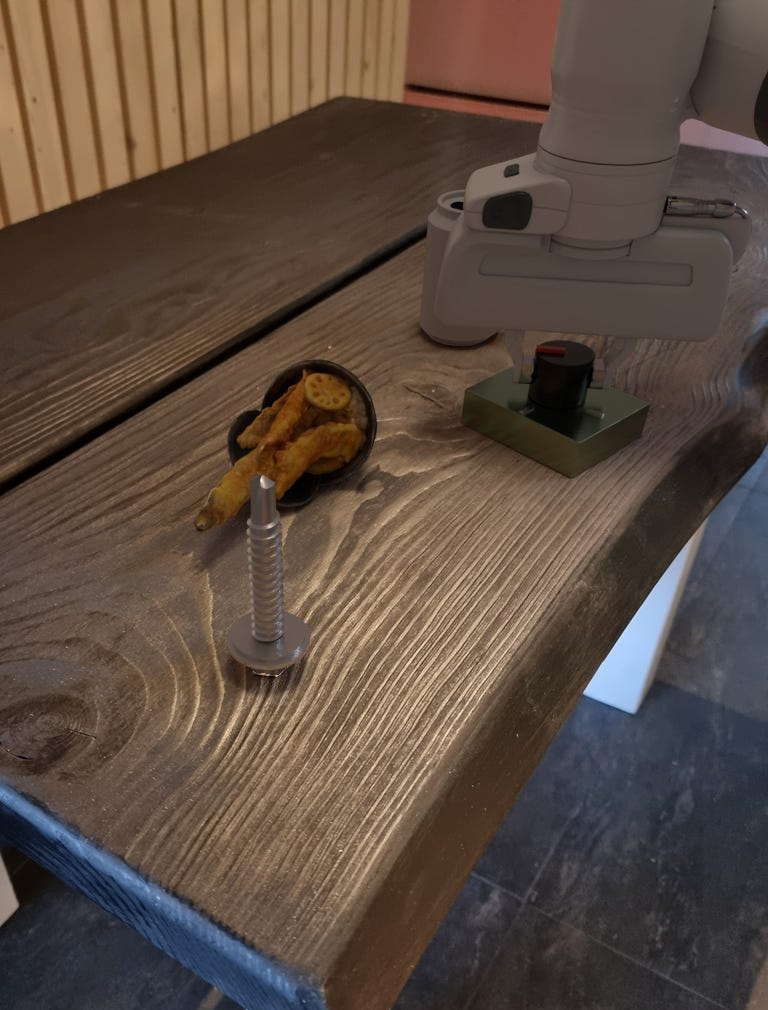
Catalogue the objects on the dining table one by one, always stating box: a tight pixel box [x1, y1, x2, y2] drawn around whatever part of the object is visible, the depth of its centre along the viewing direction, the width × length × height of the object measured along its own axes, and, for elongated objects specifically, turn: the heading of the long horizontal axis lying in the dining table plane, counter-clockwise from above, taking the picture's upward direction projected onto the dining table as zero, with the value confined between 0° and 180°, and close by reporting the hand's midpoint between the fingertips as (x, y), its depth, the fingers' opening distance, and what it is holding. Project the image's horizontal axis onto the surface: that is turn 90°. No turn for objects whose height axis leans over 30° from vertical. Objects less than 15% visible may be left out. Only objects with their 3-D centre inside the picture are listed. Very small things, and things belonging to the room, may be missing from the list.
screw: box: [225, 474, 311, 675], centre depth 50 cm, size 13×5×5 cm
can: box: [419, 189, 499, 347], centre depth 83 cm, size 8×8×12 cm
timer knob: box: [528, 339, 596, 409], centre depth 71 cm, size 4×4×4 cm
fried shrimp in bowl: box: [193, 359, 378, 536], centre depth 64 cm, size 9×11×18 cm
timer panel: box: [460, 366, 652, 479], centre depth 73 cm, size 11×9×3 cm
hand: (558, 383), depth 71 cm, fingers closed on timer knob, 4 cm apart
